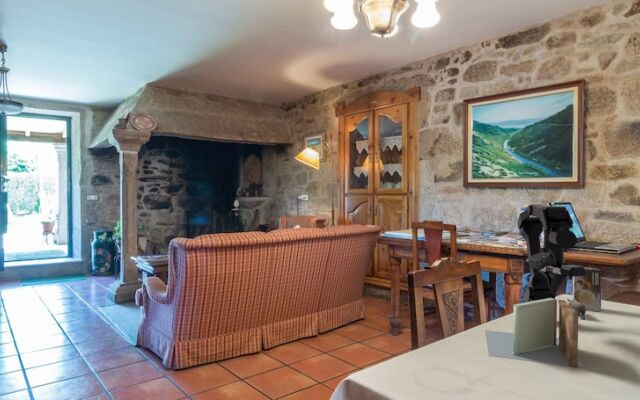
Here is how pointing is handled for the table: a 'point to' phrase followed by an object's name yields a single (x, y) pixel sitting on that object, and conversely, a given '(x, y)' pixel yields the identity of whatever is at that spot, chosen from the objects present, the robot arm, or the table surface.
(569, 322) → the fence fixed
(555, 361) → the card
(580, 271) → the robot arm
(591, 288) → the coffee box
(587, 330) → the table surface
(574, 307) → the rhino figurine
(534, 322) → the panel
